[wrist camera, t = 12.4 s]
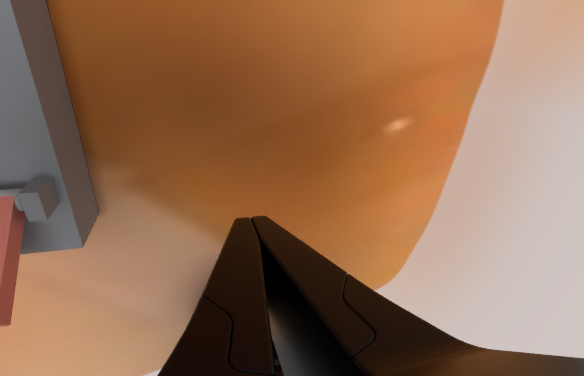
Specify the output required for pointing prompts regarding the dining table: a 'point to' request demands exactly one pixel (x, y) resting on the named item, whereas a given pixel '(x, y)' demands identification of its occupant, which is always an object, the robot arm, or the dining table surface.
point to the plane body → (41, 133)
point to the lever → (9, 249)
